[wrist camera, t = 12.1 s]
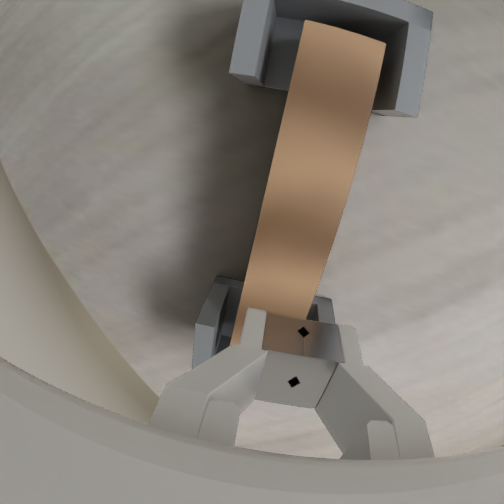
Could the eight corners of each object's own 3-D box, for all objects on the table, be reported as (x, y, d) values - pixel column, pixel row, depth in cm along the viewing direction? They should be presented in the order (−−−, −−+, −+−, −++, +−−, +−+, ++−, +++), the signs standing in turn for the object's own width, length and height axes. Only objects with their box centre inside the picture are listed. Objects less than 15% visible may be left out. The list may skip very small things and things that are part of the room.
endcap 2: (310, 355, 26) (311, 408, 21) (208, 334, 27) (190, 384, 21) (331, 299, 24) (339, 351, 18) (216, 275, 24) (195, 323, 19)
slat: (302, 40, 16) (305, 19, 12) (366, 57, 16) (386, 43, 12) (235, 325, 25) (225, 365, 21) (284, 337, 25) (282, 377, 21)
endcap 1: (262, 3, 16) (251, -34, 10) (397, 35, 15) (432, 11, 10) (246, 84, 18) (228, 72, 13) (383, 115, 18) (417, 117, 12)
